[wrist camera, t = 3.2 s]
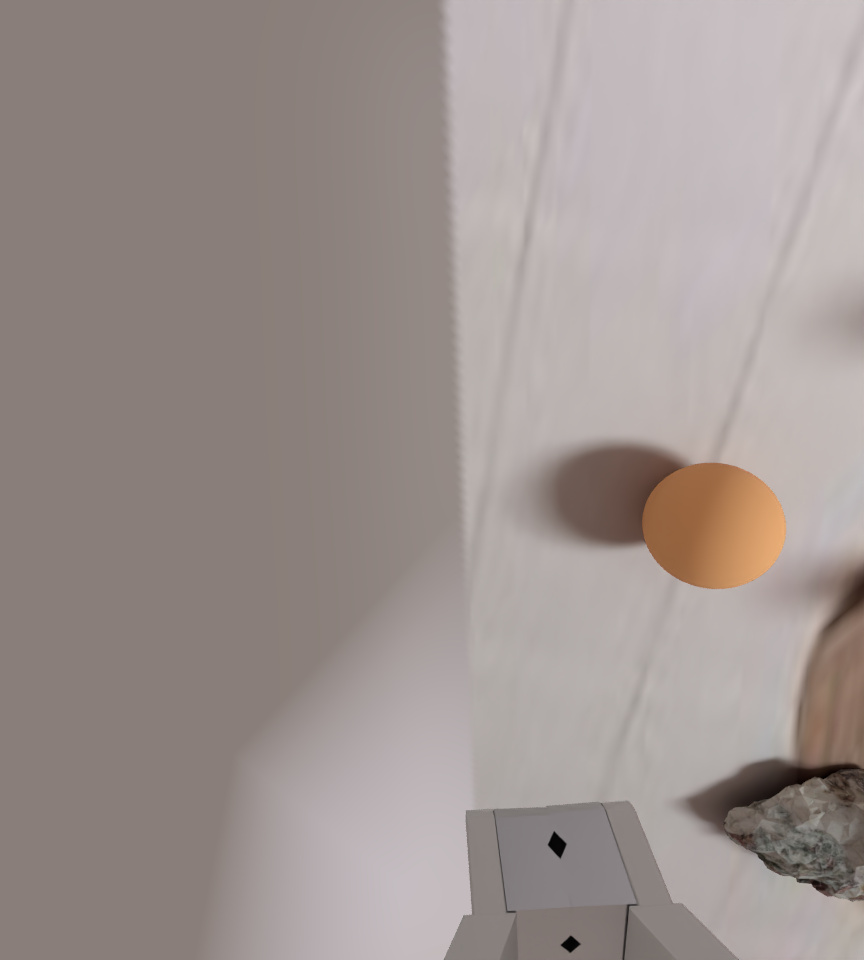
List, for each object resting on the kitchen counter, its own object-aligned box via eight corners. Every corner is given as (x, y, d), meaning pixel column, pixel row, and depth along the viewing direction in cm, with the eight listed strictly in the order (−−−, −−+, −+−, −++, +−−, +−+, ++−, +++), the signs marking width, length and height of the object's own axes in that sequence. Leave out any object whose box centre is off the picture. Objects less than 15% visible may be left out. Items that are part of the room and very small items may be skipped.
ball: (729, 547, 23) (806, 610, 19) (621, 554, 23) (669, 619, 19) (744, 443, 22) (832, 483, 17) (627, 452, 22) (682, 494, 17)
